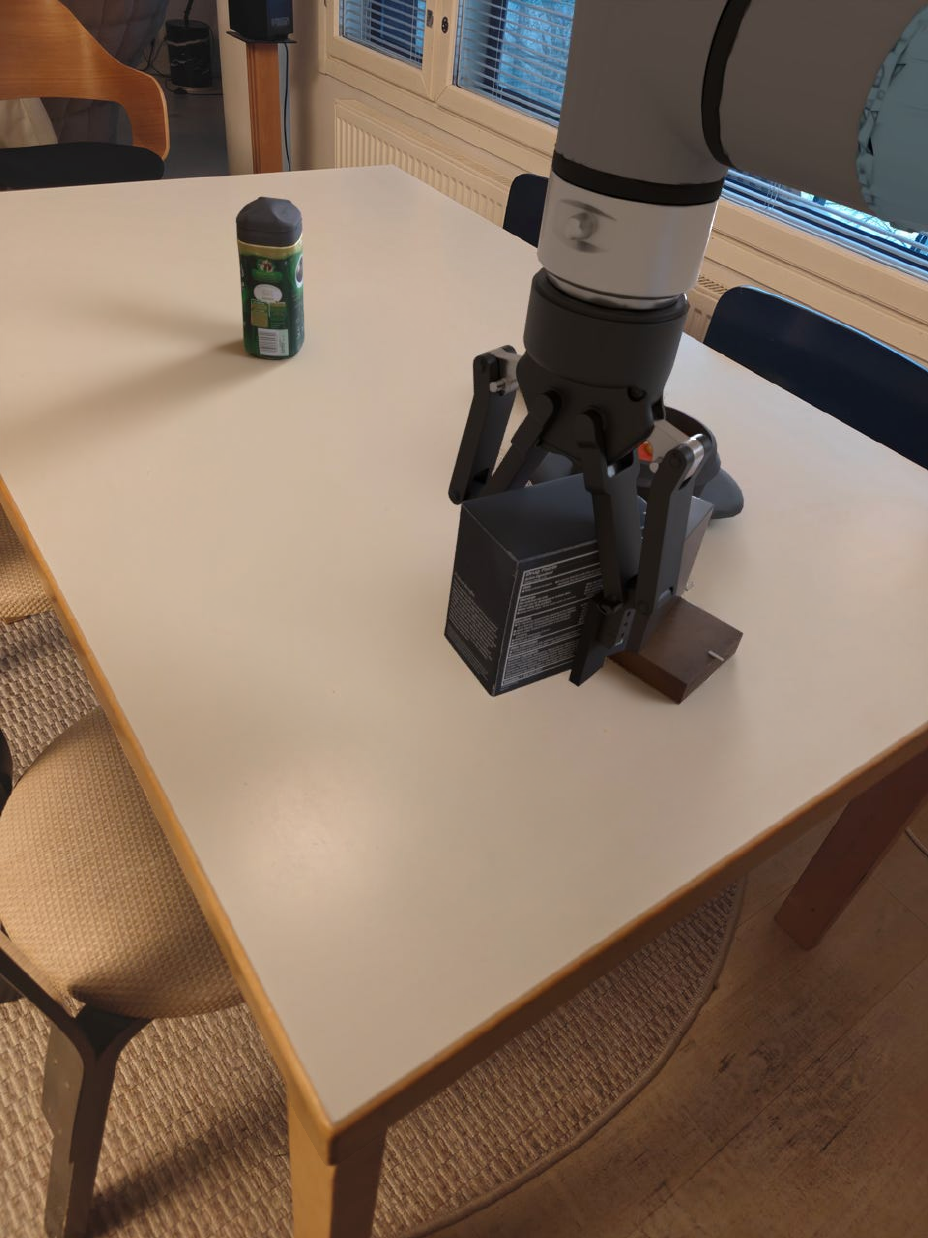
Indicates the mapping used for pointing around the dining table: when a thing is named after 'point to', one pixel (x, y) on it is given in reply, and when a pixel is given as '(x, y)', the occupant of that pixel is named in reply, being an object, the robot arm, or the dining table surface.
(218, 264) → the dining table surface
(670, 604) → the frame
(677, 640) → the frame stand
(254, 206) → the coffee jar
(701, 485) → the casserole
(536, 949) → the dining table surface
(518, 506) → the small box
